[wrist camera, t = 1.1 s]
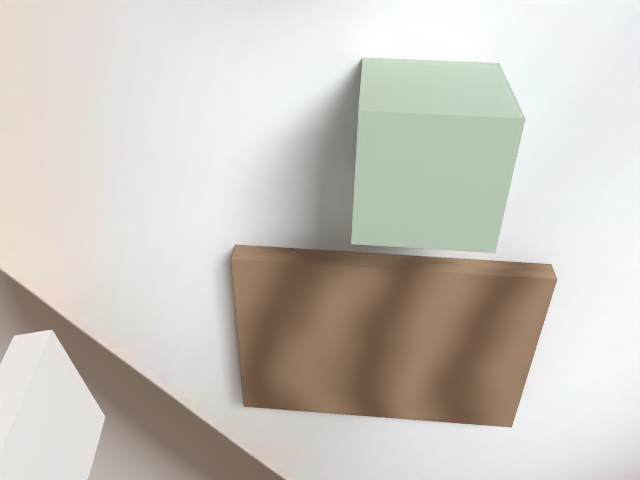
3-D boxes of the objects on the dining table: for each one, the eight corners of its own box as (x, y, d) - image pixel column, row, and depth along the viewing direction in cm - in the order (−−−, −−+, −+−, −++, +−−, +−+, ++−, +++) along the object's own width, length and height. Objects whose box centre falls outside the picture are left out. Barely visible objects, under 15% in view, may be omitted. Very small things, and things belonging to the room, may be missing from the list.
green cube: (498, 62, 31) (525, 118, 25) (476, 181, 35) (495, 252, 29) (362, 57, 31) (358, 110, 26) (356, 175, 36) (351, 244, 30)
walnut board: (551, 264, 38) (557, 279, 37) (508, 411, 46) (511, 427, 45) (235, 244, 39) (230, 258, 38) (247, 391, 47) (243, 406, 46)
